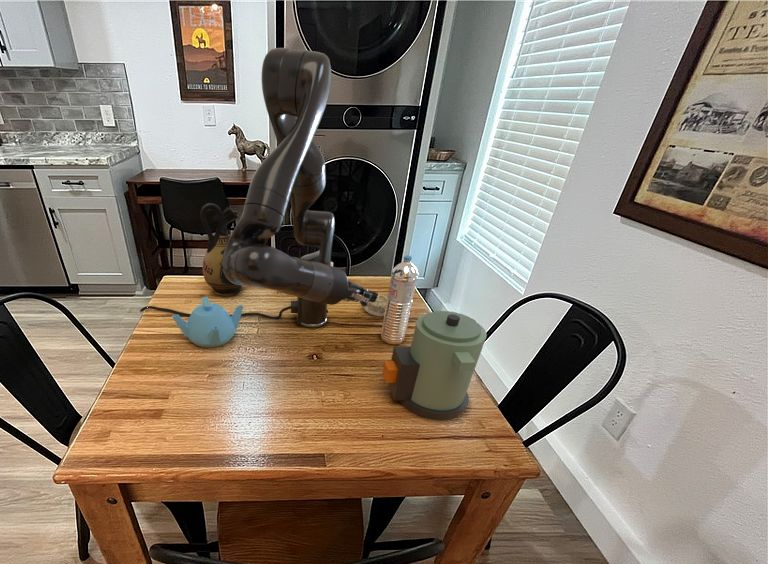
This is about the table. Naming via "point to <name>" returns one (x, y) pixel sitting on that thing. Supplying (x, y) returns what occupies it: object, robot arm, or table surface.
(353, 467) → the table surface
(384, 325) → the water bottle
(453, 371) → the kettle
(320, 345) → the table surface
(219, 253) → the ceramic jug
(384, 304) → the cake
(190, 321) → the teapot
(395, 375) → the switch
